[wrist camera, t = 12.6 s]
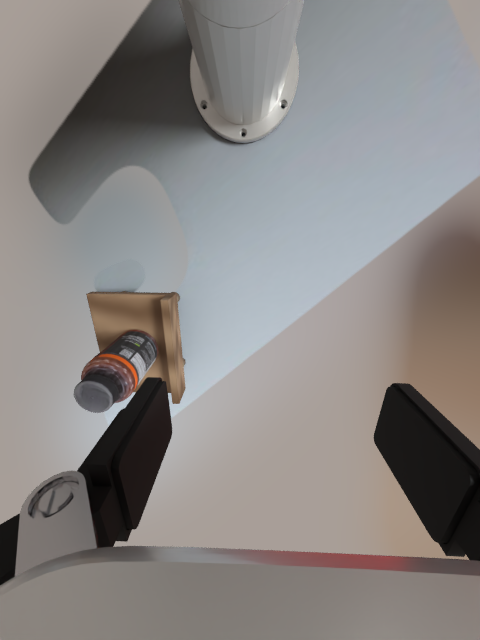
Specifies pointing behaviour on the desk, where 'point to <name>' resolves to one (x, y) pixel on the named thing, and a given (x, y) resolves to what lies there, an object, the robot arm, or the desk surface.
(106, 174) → the desk surface
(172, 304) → the peg shelf
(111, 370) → the supplement bottle
